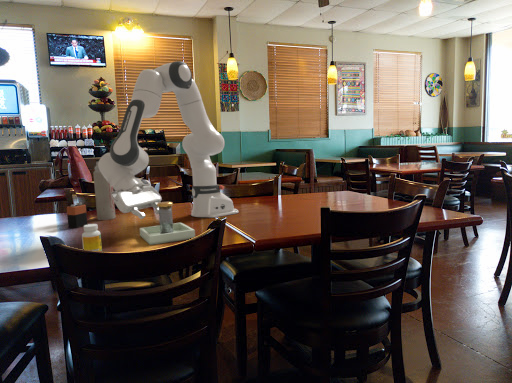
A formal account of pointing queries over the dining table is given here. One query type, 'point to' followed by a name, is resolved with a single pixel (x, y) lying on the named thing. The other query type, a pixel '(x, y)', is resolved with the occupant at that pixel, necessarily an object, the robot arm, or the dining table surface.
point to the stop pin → (165, 217)
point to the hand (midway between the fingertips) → (151, 215)
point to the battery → (76, 215)
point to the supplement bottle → (91, 238)
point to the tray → (166, 234)
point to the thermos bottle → (103, 196)
